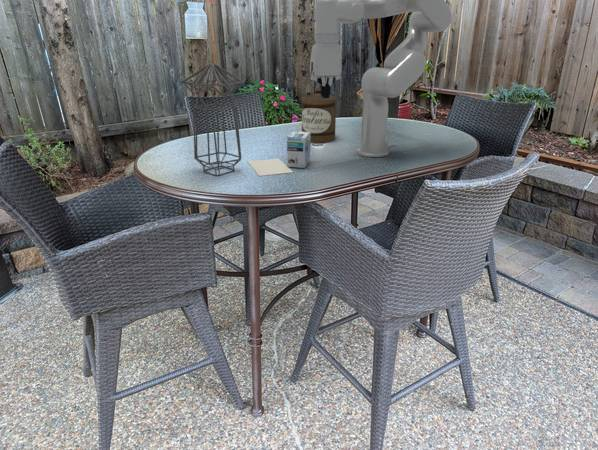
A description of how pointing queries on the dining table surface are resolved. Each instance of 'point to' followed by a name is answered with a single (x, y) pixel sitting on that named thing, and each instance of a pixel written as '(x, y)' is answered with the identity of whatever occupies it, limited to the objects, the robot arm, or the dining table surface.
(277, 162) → the mat
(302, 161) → the light bulb box
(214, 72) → the geometric lantern
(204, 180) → the dining table surface
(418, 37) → the robot arm
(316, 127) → the wooden container
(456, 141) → the dining table surface
